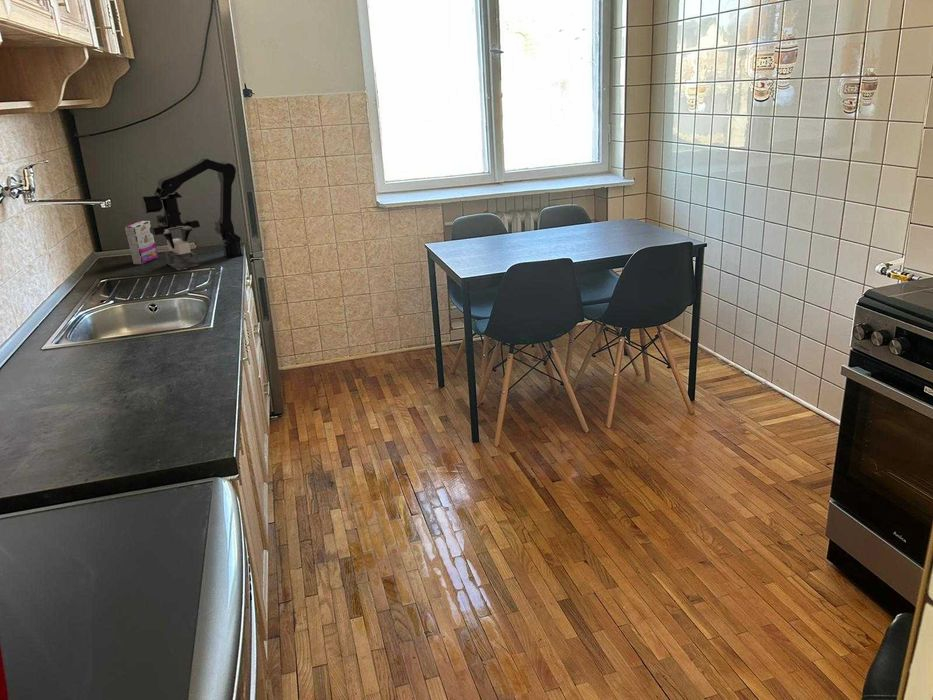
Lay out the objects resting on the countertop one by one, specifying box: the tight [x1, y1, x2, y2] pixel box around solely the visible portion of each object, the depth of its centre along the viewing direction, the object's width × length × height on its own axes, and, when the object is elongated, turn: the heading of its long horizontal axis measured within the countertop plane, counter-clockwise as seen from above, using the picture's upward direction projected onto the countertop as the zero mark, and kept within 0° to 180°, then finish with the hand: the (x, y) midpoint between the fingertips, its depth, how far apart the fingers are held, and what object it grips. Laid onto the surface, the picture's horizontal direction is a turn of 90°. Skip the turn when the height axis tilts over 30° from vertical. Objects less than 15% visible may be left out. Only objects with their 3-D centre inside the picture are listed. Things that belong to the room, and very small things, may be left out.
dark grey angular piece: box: [164, 251, 199, 270], centre depth 296 cm, size 8×14×6 cm, turn 42°
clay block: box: [166, 237, 192, 254], centre depth 294 cm, size 4×12×4 cm, turn 42°
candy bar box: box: [124, 220, 159, 265], centre depth 303 cm, size 11×5×16 cm, turn 167°
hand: (179, 247), depth 294 cm, fingers closed on clay block, 4 cm apart
